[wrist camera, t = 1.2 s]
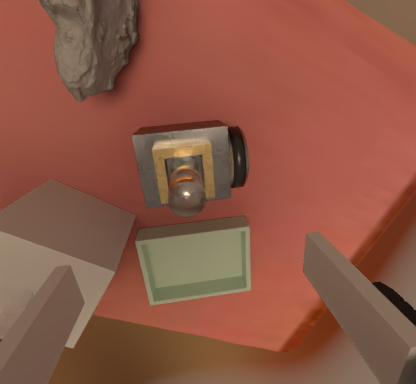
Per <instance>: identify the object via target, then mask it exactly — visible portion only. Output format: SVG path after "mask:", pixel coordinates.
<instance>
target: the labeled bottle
mask: <svg viewBox="0 0 416 384" xmlns="http://www.w3.org/2000/svg"><path fill="white" fill-rule="evenodd" d="M205 203H206V194H205V190H204V186H203V183H202V179H201V175H200V171H199V167H198V164H197V162H196V161H195V160H194V159H193V158H191V157H189V156H185V157H178V158H177V159H175V160H174V162H173V163H172V167H171V175H170V183H169V192H168V204H169V207H170V208H171V210H172V211H173V212H174V213H176V214H177V215H180V216H184V217H189V216H193V215H196V214H198V213H199V212H200V211H201V210H202V209H203V208H204V206H205Z"/></svg>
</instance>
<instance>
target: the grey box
mask: <svg viewBox="0 0 416 384" xmlns="http://www.w3.org/2000/svg"><path fill="white" fill-rule="evenodd" d="M135 218H136V215H134V214H132V213H129V212H127V211H125V210H123V209H120V208H118V207H116V206H113V205H111V204H109V203H107V202H104V201H102V200H100V199H97V198H95V197H93V196H91V195H88V194H86V193H84V192H81V191H79V190H77V189H75V188H72V187H70V186H68V185H65V184H63V183H61V182H59V181H56V180H54V179H52V178H50V179H49V180H47V181H46V182H44V183H43V184H41V185H39V186H38V187H36V188H35V189H33V190H32V191H30V192H29V193H27V194H25V195H24V196H22V197H21V198H19V199H18V200H16V201H14V202H13V203H11V204H10V205H8V206H7V207H5V208H4V209H2V210H0V339H3V338H4V336H5V335H6V334H7V332H8V331H9V330H10V328H11V327H12V325H13V324H14V323H15V321H16V320H17V319H18V317H19V316H20V315H21V313H22V312H23V311H24V309H25V308H26V306H27V305H28V304H29V302H30V301H31V300H32V298H33V297H34V296H35V294H36V293H37V291H38V290H39V289H40V287H41V286H42V285H43V283H44V282H45V281H46V279H47V278H48V277H49V275H50V274H51V272H52V271H53V270H54V268H55V267H58V266H65V265H71V268H72V270H73V273H74V275H75V278H76V281H77V283H78V286H79V288H80V291H81V294H82V296H83V299H84V301H85V304H84V306H83V308H82V310H81V312H80V315H79V317H78V319H77V321H76V323H75V325H74V328H73V330H72V332H71V334H70V336H69V338H68V340H67V343H66V345H65V346H66V347H70V348H74V346H75V344H76V342H77V341H78V339H79V337H80V335H81V333H82V332H83V330H84V328H85V326H86V324H87V322H88V321H89V319H90V317H91V315H92V314H93V312H94V310H95V308H96V306H97V305H98V303H99V301H100V299H101V298H102V296H103V294H104V292H105V290H106V289H107V287H108V285H109V283H110V281H111V280H112V278H113V276H114V274H115V272H116V270H117V267H118V264H119V262H120V259H121V256H122V253H123V251H124V248H125V245H126V242H127V240H128V237H129V234H130V231H131V229H132V226H133V223H134V220H135Z"/></svg>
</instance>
